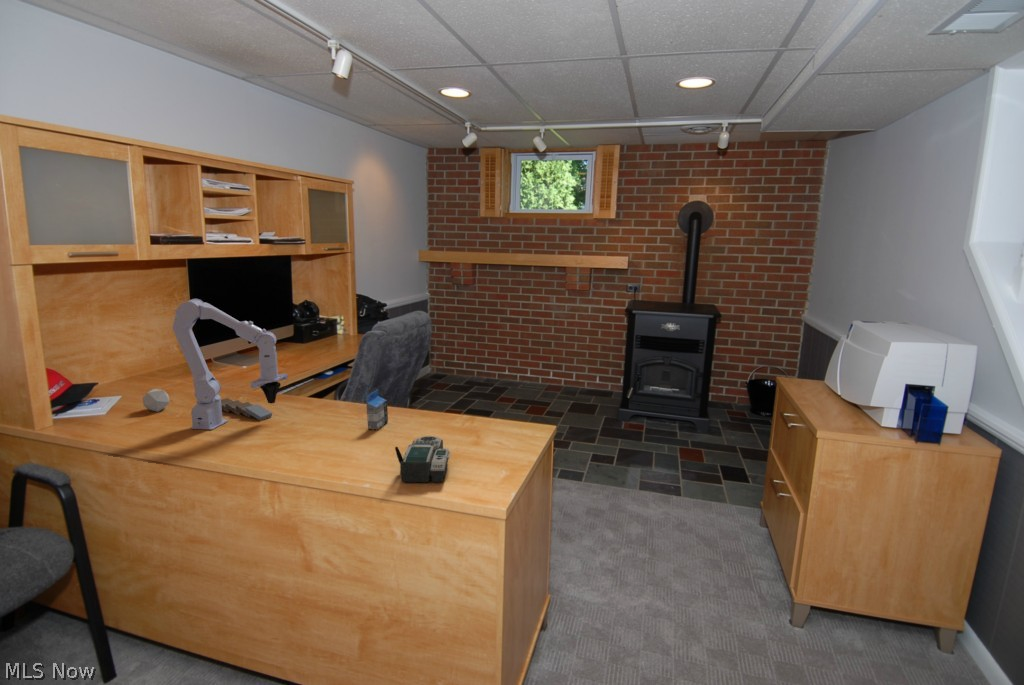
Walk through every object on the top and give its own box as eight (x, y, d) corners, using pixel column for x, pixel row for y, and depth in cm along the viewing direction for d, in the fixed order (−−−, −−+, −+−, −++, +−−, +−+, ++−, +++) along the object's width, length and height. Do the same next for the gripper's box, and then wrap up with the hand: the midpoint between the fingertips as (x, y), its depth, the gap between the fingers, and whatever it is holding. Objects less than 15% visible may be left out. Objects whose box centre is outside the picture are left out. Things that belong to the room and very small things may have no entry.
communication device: (454, 446, 172) (454, 416, 170) (446, 485, 144) (446, 449, 143) (410, 446, 172) (409, 415, 170) (394, 485, 144) (393, 448, 142)
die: (176, 410, 203) (172, 387, 206) (160, 405, 195) (156, 381, 198) (155, 417, 203) (152, 394, 206) (138, 413, 195) (135, 389, 198)
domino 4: (272, 413, 195) (257, 404, 198) (260, 416, 191) (245, 407, 194) (271, 416, 196) (256, 407, 198) (260, 420, 191) (245, 411, 194)
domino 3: (262, 410, 198) (247, 401, 201) (250, 414, 193) (235, 405, 196) (261, 414, 198) (247, 405, 201) (250, 418, 194) (235, 409, 197)
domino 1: (240, 405, 203) (227, 398, 206) (228, 409, 198) (215, 401, 202) (240, 409, 203) (227, 401, 207) (228, 412, 199) (215, 404, 202)
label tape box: (377, 430, 184) (376, 396, 181) (366, 429, 184) (365, 395, 182) (388, 422, 192) (387, 389, 190) (378, 421, 193) (377, 389, 191)
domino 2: (251, 408, 200) (237, 400, 203) (240, 412, 196) (225, 403, 198) (251, 412, 200) (237, 403, 203) (239, 416, 196) (225, 407, 199)
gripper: (259, 371, 180) (262, 409, 183) (293, 363, 193) (295, 398, 196) (245, 369, 183) (248, 407, 186) (279, 361, 196) (281, 396, 199)
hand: (271, 402), depth 191 cm, fingers closed
